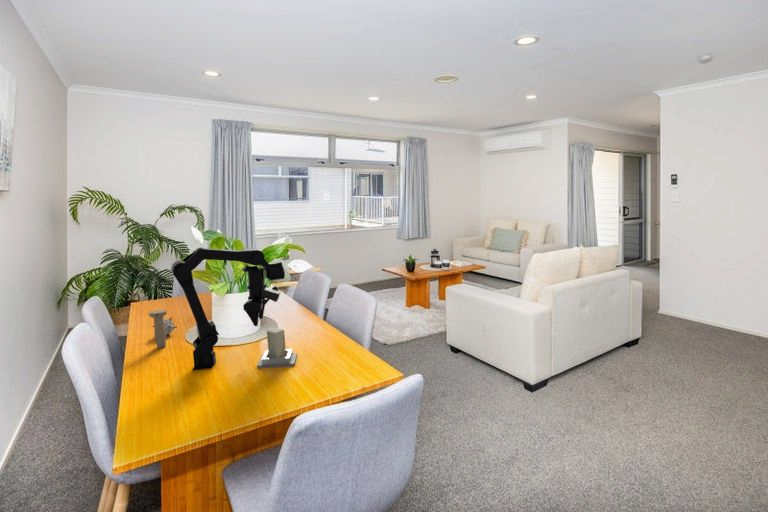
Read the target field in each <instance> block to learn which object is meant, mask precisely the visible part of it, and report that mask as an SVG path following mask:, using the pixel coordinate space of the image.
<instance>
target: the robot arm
mask: <svg viewBox="0 0 768 512" xmlns="http://www.w3.org/2000/svg"><path fill="white" fill-rule="evenodd" d="M205 260H209V261H211V260H213V261H228V262H230V261H231V262H233V261H234V262H241V263H244V264H245V265H244V267H243V268H241V271H242V272H244V273H247V280H248V282H247V283H248V285H247V286H246V287H247V290H248V295H249V296H248V297H247V299H248V300H247V301H246V302H244V304H243V307H242V308H243V311H244V312H245V313H246V314H247V316H248V318H250V321H251V323H252V324H253V326H254V327H258V324H259V319H260V320H263V318H264V313H265V307H266V305H267V303H269V302H270V300H271V301H273V302H275V303H276V302H278V300H279V298H280V296H281V290H280V289H279V286H277V285H273V287H272V288H271V287H267V284H266V283H265V279H267V280H268V281H269V282H270V281H279V280H284V279H285V276H286V275H285V273H286V271H285V268H284V266H283V262H282V261H277V262H268V261H267V260H266V259H265V254H264V253H263V251H261V250H259V249H256V248H253V247H252V248H245V249H239V250H237V249H236V250H234V249H219V248H205V247H200V246H199V247H198V248H196V249H195V250H194V251H193V252H191V253H190V254H188V255H187V256H184V257H183V258H182V259H181V260H176V261H174V262H173V263H172V265H171V267H170V270H171V273H172V275H173V276H174V278H175V280H176V281H177V283H178V284H179V285H180V287H181V288H182V290H183V293H184V295H185V298H186V300H187V303H188V305H189V308H190V310H191V312H192V315H193V317H194V320H195V323H196V331H197V337H196V338H195V340H194V341H192V346H193V349H194V350H193V351H192V358H193V365H194V366H193V367H192V370H193V371H196V370H210V369H213V367H214V365H216V363H217V357H216V351H214V346H215V345H216V344H217V343H218V341H219V336H220V333H219V332H218V330H217V328H216V327H217V326H216V324H215V323H214V320H211V321H208V318H207V316H206V313H205V311H204V308H203V305H202V303H201V300H200V298H199V295H198V293H197V290H196V288H195V285H194V278H193V272H192V271H193V270H194V269H197V267H198V266H199V265H200V264H201V263H202V262H203V261H205ZM250 265H251V266H250ZM259 266H261V267H259Z"/></svg>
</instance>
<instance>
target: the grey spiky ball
mask: <svg viewBox="0 0 768 512" xmlns="http://www.w3.org/2000/svg"><path fill="white" fill-rule="evenodd" d="M172 318H173V317H170V318H163V321H164V327H165V333H166V336H168V337H170V334H171V333H172V332H173V331H174V330H175V329H177V328H178V326H176V325H175V323H174V322H173V320H172ZM151 327H153V328H154V325H152V326H151Z"/></svg>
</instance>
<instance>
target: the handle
mask: <svg viewBox="0 0 768 512" xmlns="http://www.w3.org/2000/svg"><path fill="white" fill-rule="evenodd" d="M167 313H168V311H167V309H157V310H152V311H149V312H148V316H149V317H150V318H153V326H154V327H153V328H154V329H153V330H154V334H153V335H154V340H155V344H156V348H157V349H163V348H165V347H166V342H167V335H166V333H165V327H164V321H163V319H164V316H166V315H167Z"/></svg>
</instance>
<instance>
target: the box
mask: <svg viewBox="0 0 768 512" xmlns="http://www.w3.org/2000/svg"><path fill="white" fill-rule="evenodd" d="M266 339H267V350H268V352H269V358H274V357H286V349H287V347H286V338H285V330H284V329H283V328H282V329H281V328H278V327H275V328H274V327H273V328H272V329H269V330H267V331H266Z"/></svg>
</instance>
